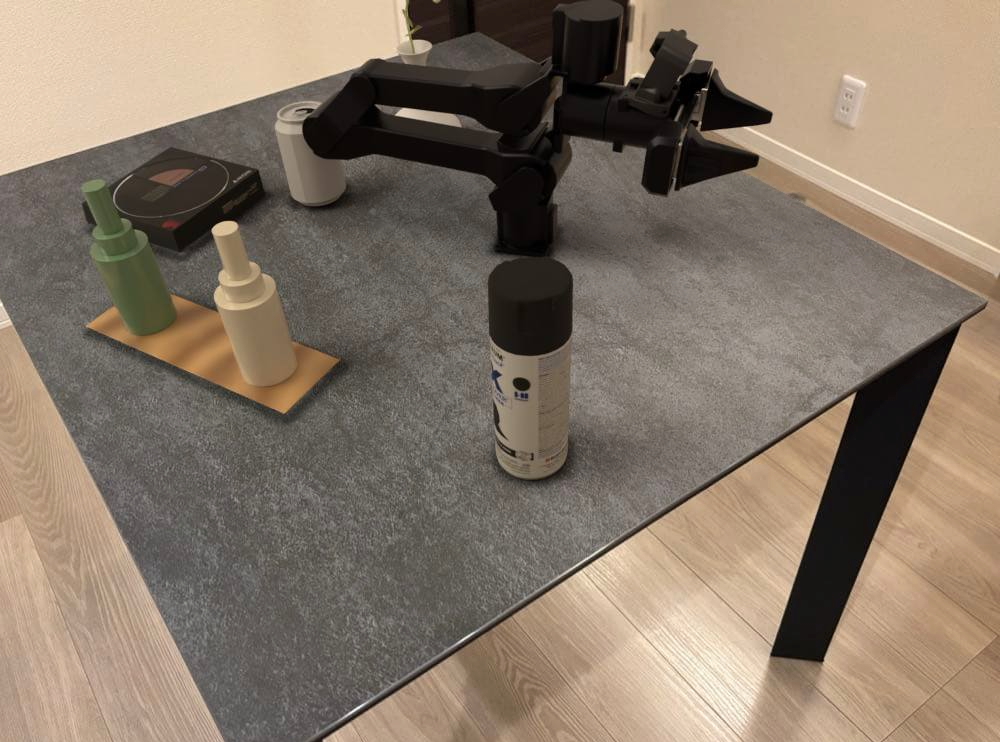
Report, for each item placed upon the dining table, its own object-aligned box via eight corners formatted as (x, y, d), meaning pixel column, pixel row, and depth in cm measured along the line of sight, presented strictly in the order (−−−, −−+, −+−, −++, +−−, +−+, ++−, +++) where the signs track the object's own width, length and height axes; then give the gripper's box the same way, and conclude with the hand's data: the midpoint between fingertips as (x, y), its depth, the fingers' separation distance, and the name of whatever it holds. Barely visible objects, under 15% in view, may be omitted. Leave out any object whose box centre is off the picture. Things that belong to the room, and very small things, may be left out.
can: (356, 185, 114) (340, 98, 106) (332, 211, 109) (313, 122, 101) (308, 181, 116) (288, 96, 108) (282, 206, 111) (260, 119, 103)
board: (341, 366, 87) (340, 359, 87) (286, 420, 82) (284, 413, 82) (147, 290, 100) (144, 283, 99) (88, 332, 95) (85, 325, 94)
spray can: (492, 432, 79) (480, 257, 65) (562, 424, 79) (565, 248, 65) (500, 485, 74) (489, 309, 60) (575, 477, 74) (581, 299, 60)
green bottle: (113, 331, 93) (49, 198, 81) (142, 299, 97) (85, 167, 85) (159, 339, 91) (101, 204, 80) (187, 306, 95) (135, 172, 83)
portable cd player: (176, 171, 121) (167, 146, 118) (265, 195, 114) (258, 169, 111) (90, 228, 111) (78, 202, 108) (182, 258, 104) (172, 231, 102)
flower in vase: (462, 158, 117) (447, -32, 100) (382, 163, 118) (354, -25, 100) (463, 116, 127) (449, -65, 109) (389, 121, 127) (364, -58, 110)
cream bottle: (230, 382, 85) (179, 243, 74) (256, 345, 89) (212, 207, 78) (282, 390, 84) (238, 250, 72) (307, 352, 88) (269, 213, 76)
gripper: (594, 75, 74) (772, 101, 70) (643, 0, 86) (798, 19, 82) (583, 184, 83) (743, 214, 78) (630, 103, 94) (771, 125, 90)
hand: (765, 138), depth 82 cm, fingers open, 9 cm apart
